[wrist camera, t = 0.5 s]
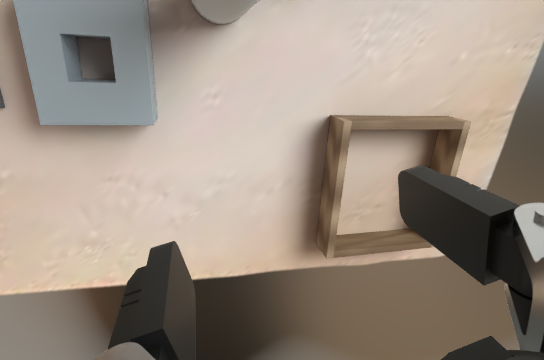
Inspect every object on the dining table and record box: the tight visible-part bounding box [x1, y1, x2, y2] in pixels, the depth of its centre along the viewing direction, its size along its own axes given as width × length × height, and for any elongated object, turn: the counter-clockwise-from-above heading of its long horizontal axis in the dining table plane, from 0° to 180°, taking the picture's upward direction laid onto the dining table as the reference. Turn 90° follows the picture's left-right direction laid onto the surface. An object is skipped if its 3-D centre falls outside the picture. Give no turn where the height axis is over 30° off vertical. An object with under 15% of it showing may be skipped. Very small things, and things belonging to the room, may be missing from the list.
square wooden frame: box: [316, 115, 471, 259], centre depth 43 cm, size 19×18×4 cm
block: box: [13, 0, 158, 125], centre depth 30 cm, size 12×10×4 cm
